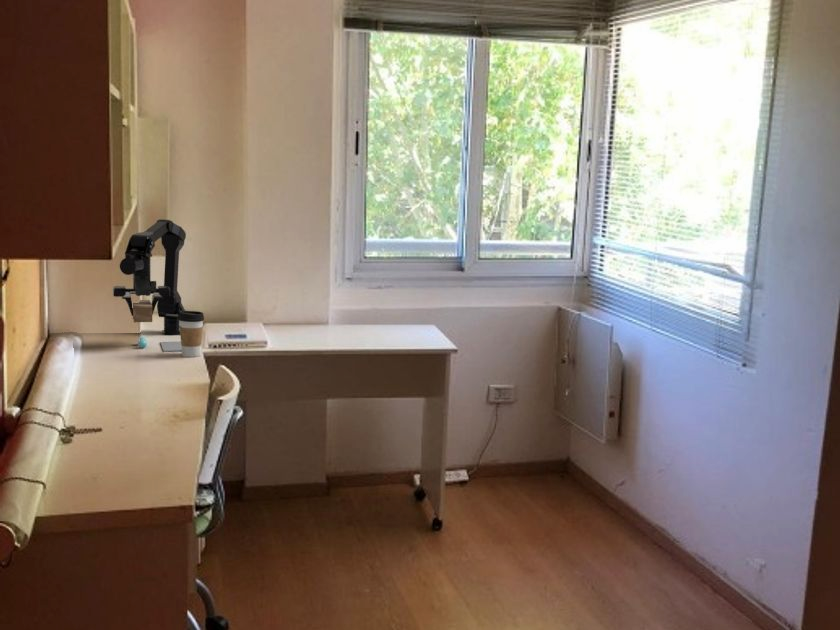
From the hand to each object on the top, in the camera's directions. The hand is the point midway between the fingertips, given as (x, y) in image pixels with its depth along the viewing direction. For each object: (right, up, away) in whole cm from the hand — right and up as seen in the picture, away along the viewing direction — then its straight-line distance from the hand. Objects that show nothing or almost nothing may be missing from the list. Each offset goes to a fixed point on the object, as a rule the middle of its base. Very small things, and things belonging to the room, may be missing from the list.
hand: (141, 315), depth 313 cm
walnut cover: (0, -1, 0) cm, 1 cm away
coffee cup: (+19, -14, -6) cm, 24 cm away
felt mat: (+10, -11, +4) cm, 16 cm away
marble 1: (-1, -10, +4) cm, 11 cm away
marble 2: (0, -11, 0) cm, 11 cm away
